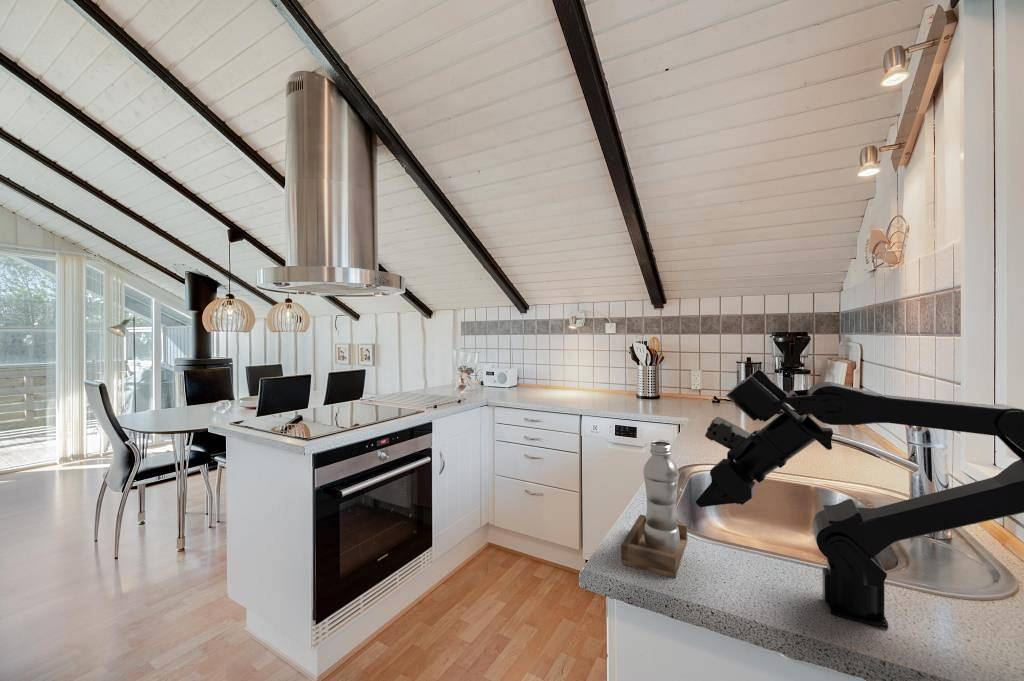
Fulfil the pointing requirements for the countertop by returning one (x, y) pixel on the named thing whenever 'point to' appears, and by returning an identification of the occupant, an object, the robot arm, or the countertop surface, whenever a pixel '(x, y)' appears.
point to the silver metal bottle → (661, 499)
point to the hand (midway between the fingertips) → (704, 495)
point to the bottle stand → (651, 551)
